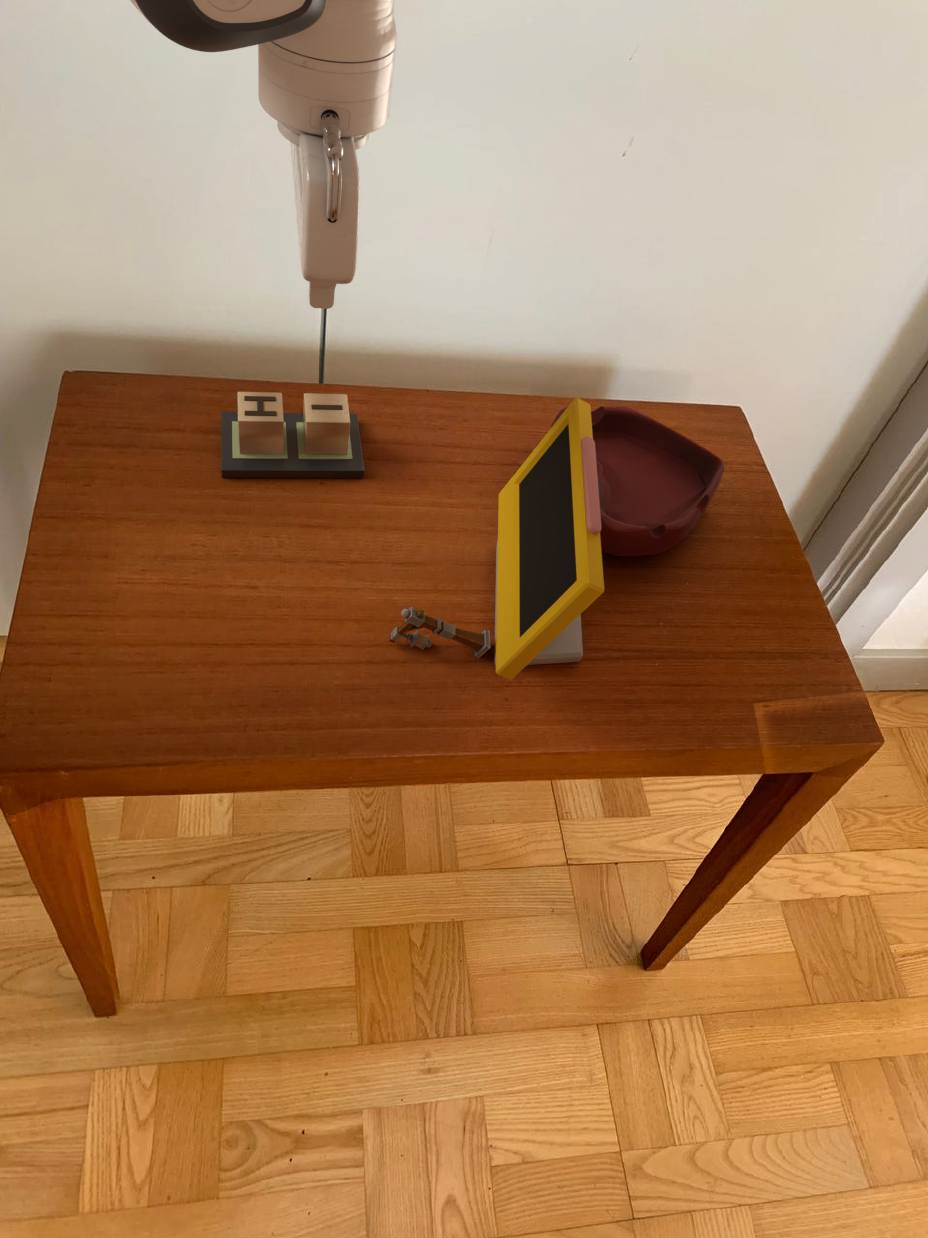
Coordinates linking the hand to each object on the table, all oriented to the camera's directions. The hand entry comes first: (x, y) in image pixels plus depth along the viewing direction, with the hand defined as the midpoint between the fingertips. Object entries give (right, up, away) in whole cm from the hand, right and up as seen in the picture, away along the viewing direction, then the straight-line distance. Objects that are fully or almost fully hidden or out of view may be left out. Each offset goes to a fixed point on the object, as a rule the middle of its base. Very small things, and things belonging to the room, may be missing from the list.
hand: (316, 266), depth 73 cm
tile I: (-2, -11, +16) cm, 19 cm away
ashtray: (+28, -16, +19) cm, 38 cm away
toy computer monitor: (+18, -27, +9) cm, 33 cm away
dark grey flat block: (-5, -11, +16) cm, 20 cm away
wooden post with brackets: (+9, -30, +5) cm, 32 cm away
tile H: (-8, -11, +15) cm, 20 cm away
